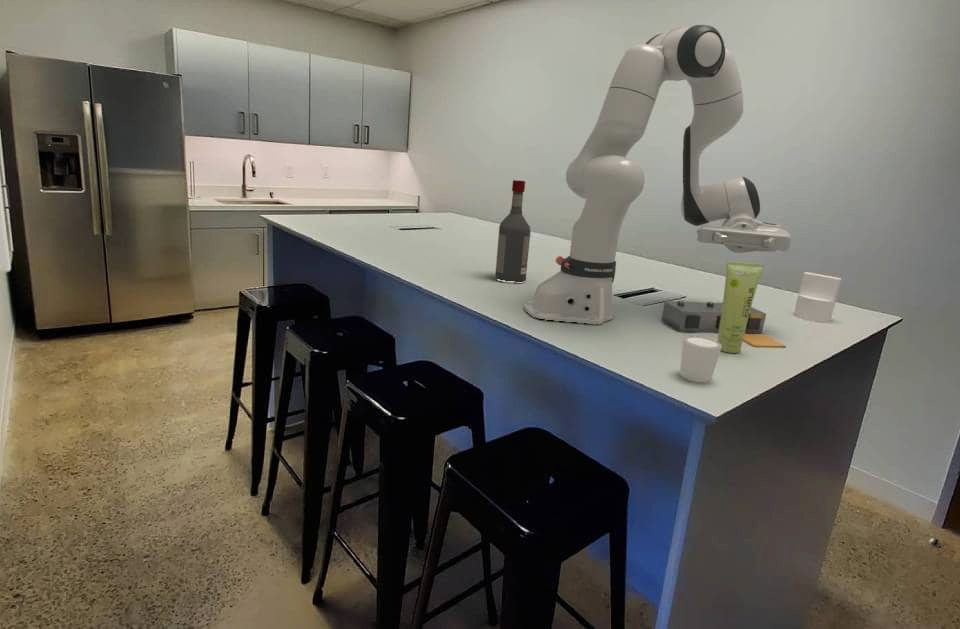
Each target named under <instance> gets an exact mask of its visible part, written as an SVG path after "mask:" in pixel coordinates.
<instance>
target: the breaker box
mask: <svg viewBox="0 0 960 629" xmlns="http://www.w3.org/2000/svg"><path fill="white" fill-rule="evenodd" d="M722 307H723V302H712V301H708V302H705V301H704V302H703V301H702V302H699V301H697V302H695V301H681V300H679V301H670V300H669V301H668V300H667V301H666V300H665V301H664V304H663V310H662V315H661V321H662V322H663V323H665V324H666V325H668V326H670V327H671V328H673V329H674V330H676V331H677V332H678V333H680V332H683V333H685V332H686V333H719V327H720V320H721V314H722ZM766 318H767V313H766V312H763V311H761V310H760V309H757V308H755V307H752V306H751V310H750V313H749V317H748V321H747V325H746V329H745V333H744V334H763V330H764V327H765V322H766Z"/></svg>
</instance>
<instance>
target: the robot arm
mask: <svg viewBox="0 0 960 629" xmlns="http://www.w3.org/2000/svg"><path fill="white" fill-rule="evenodd" d="M724 42H725V41H724V39H723V36H722V35H721V33H720V32H719V30H717V29H716V28H715V27H714V26H711V25H708V24H696V25H693V26H686V27H685V26H684V27H677V28H673V29H671V30H668V31H665V32H662V33H658V34H656V35H654V36H653V37H651V38H650V39H648V41H646V42H645V43H639V44H634V45H632V46H631V47H629V48H628V49H627V50H626V51H625V53H624V54H623V56H622V58H621V60H620V61H619V63H618V66H617V68H616V70H615V72H614V74H613V77H612V79H611V82H610V84H609V87H608V90H607V92H606V96H605V98H604V102H603V105H602V107H601V110H600V112H599V115H598V119H597V120H596V123H595V124H594V127H593V130H592V132H591V133H590V135H589V137H588V138H587V140H586V141H585V143H584V145H583V146H582V147H581V148H582V149H581V150H580V152H579V154H578V155H577V156H576V157H575V159H572V161H571V162H570V164H568V167H567V169H566V172H565V181H566V184H567V186H568V188H569V189H570V190H571V191H572V192H573V193H574V194H575V195H576V196H578V197H579V198H581V199H585V203H584V206H583V208H582V212H581V213H580V216H579V217H578V220H576V221H575V223H574V224H573V227H572V235H571V242H570V250H569V251H570V252H569V255H568V256H567V257H565V258H564V257H562V256H560V255H558V256H557V257H556V258H555V263H556V265H558V266H560V270H559V271H558V272H557V273H555V274H554V275H551V276H550V277H549V278H547V279H545V280H544V281H542V282H541V283H540V284H539V285H538V286H537V288H536V290H535V293H534V296H533V300H531V301H526V302H525V303H524V305H523V306H524V307H525V309H526V311H527V312H529V313H530V314H531V315H532V316H534V317H536V318H539V319H545V320H544V321H547V320H554V321H553V322H559V321H565V322H564V323H571V322H577V323H576V324H584V323H587V324H586V325H588V324H589V325H597V324H598V325H599V326H600V325H602V324H603V323H604V322H607V321H610V320H612V319H614V310H613V300H612V299H613V297H612V296H613V294H612V293H613V283H614V280H615V277H616V270H617V269H616V268H617V261H616V260H615V259H616V255H617V250H618V249H617V248H618V243H619V238H620V237H619V236H620V231H621V227H622V225H623V221H624V219H625V217H626V215H627V213H628V211H629V208H630V206H631V204H632V203H633V202H634V201H635V200H636V199H637V198H638V197H639V196H640V195H641V193H642V192H643V190H644V187H645V174H644V171H643V169H642V167H641V166H640V164H638V163H637V162H636V161H634V160H632V159H630V158H628V157H626V156H627V155H628V154H629V152H630V150H632V148H633V147H634V145H635V144H636V143H638V142H639V141H640V140H641V139H642V137H643V135H644V134H645V131H646V130H647V126H648V123H649V121H650V118H651V115H652V111H653V109H654V107H655V104H656V100H657V98H658V94H659V92H660V88H661V86H662V84H664V82H665V81H675V82H681V81H687V83H688V84H689V87H690V88H691V89H690V90H691V98H692V105H693V115H692V119H691V122H690V124H689V125H688V126H686V128H684V132H683V139H682V142H683V144H682V193H681V194H682V196H681V202H680V210H681V211H680V212H681V215H682V217H683V219H684V221H685V222H687V223H689V224H690V225H692V226H695V227H699V226H700V227H699V228H698V229H697V230H696V234H697V242H700V243H704V244H714V245H723V246H725V247H726V248H727V249H728V250H729V251H731V252H733V253H736V254H743V253H752V252H770V253H771V252H774V253H775V252H777V251H782V252H788V251H789V250H790V248H791V242H792V235H791V233H789V231H787V230H785V229H783V228H782V225H781V224H775V223H769V222H765V221H764V222H763V221H760V220H758V219H757V217H758V216H759V214H760V213H761V203H760V196H759V191H757V190H758V189H757V188H756V185H755V183H754V182H752V181H751V180H750V179H749V178H747V177H745V176H740V177H735V178H731V179H727V180H724V181H719V182H715V183H712V184H711V183H710V184H707V185H700V184H699V183H700V177H699V176H700V174H699V173H700V157H701V155H702V153H703V151H704V150H705V149H706V148H707V147H709V146H710V145H712V143H714V142H715V141H717V140H718V139H720V138H721V137H723V136H725V135H726V134H727V133H728V132H730V131H731V130H732V129H733V128H735V126H736V125H737V124H738V122H739V121H740V120H741V118H742V115H743V113H744V94H743V88H742V87H743V86H742V83H741V82H742V80H741V76H740V73H739V69H738V66H737V63H736V61H735V57H734V55H733V53H732V52H731V50H730V49H728V48H726V46H725V43H724ZM720 220H723V221H722V224H721V226H720V225H711V224H709V223H710V222H715V221H720ZM705 224H706V225H705ZM708 224H709V225H708ZM524 307H523V308H524ZM525 309H524V310H525ZM526 311H525V312H526ZM527 312H526V313H527ZM532 316H531V317H532ZM534 317H533V318H534ZM536 318H535V319H536ZM539 319H538V320H539Z"/></svg>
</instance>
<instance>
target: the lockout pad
mask: <svg viewBox="0 0 960 629" xmlns="http://www.w3.org/2000/svg"><path fill="white" fill-rule="evenodd" d="M743 342H745V343H746V344H747V345H749V346H751V347H754V348H787V345H785V344H783V343H781V342H780V341H778V340H776V339H774V338H771V337H770V336H768V335H766V334H763V333H744V338H743Z"/></svg>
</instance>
